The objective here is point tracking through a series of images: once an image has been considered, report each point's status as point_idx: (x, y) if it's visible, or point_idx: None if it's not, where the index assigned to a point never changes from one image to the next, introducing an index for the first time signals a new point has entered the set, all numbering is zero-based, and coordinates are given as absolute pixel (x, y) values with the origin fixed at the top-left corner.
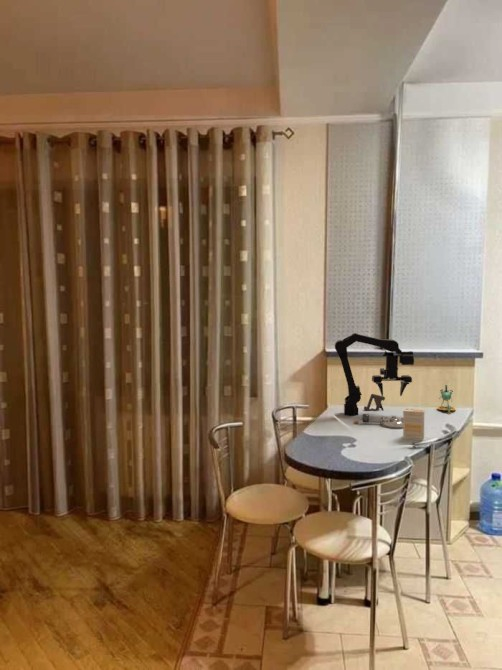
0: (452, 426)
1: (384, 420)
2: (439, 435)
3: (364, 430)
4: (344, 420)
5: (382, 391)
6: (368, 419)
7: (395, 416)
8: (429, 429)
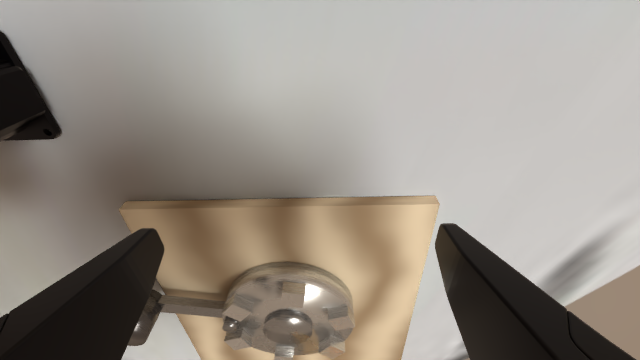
0: (581, 277)
1: (235, 349)
2: (432, 357)
3: (165, 321)
4: (4, 190)
5: (122, 342)
6: (156, 319)
7: (300, 304)
8: (437, 311)
